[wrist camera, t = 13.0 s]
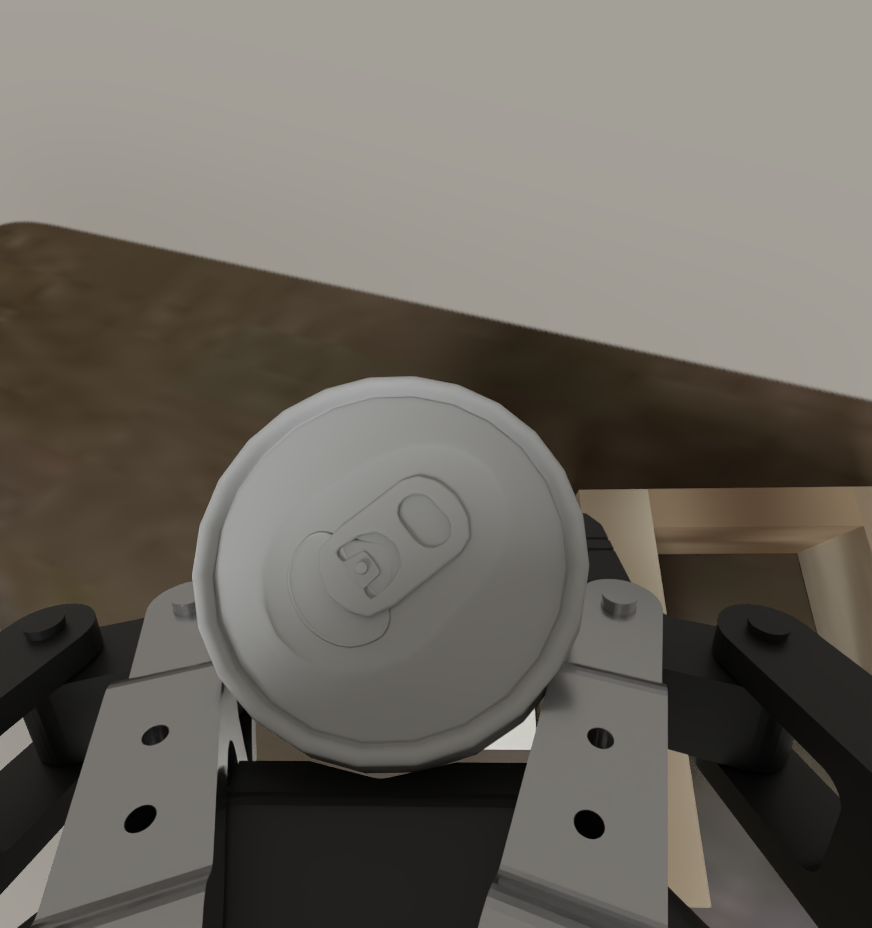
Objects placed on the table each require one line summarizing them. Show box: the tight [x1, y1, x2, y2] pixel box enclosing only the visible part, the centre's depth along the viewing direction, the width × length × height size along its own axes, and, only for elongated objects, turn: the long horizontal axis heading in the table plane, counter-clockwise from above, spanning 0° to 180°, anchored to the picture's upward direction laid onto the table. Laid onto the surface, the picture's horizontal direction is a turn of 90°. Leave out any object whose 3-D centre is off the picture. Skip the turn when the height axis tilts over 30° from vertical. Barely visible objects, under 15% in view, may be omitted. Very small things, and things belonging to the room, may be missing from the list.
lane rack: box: [575, 486, 872, 908], centre depth 19 cm, size 12×12×4 cm
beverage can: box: [192, 376, 589, 773], centre depth 12 cm, size 5×5×12 cm
